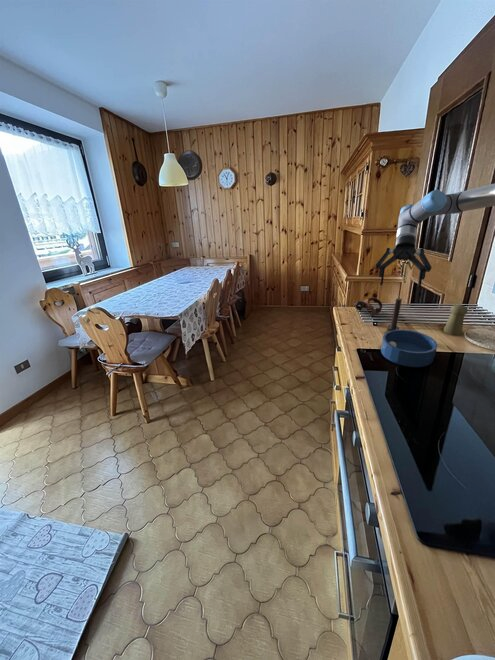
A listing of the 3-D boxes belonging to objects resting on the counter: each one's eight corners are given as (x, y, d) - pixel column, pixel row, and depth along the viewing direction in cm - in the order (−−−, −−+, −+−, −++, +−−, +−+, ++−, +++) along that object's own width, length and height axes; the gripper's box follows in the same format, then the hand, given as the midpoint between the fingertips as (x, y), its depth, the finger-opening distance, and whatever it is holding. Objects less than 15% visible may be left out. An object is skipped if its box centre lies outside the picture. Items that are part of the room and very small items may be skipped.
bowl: (442, 355, 98) (446, 341, 96) (418, 373, 90) (422, 358, 88) (396, 338, 111) (399, 325, 108) (371, 352, 102) (373, 339, 100)
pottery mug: (372, 308, 138) (381, 297, 132) (376, 323, 133) (386, 312, 126) (349, 304, 137) (357, 292, 130) (352, 319, 131) (361, 308, 125)
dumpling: (388, 340, 104) (389, 348, 104) (385, 342, 102) (386, 350, 102) (397, 340, 101) (398, 348, 102) (394, 342, 99) (395, 350, 100)
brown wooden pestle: (400, 333, 113) (407, 298, 107) (394, 337, 111) (402, 302, 104) (389, 330, 117) (395, 296, 110) (384, 333, 114) (390, 299, 107)
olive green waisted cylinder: (461, 336, 109) (469, 310, 104) (442, 332, 112) (449, 307, 107) (462, 330, 113) (470, 304, 108) (444, 327, 116) (451, 302, 111)
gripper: (438, 245, 117) (433, 291, 112) (373, 244, 127) (366, 286, 122) (443, 234, 111) (438, 282, 106) (374, 234, 121) (367, 278, 115)
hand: (400, 284), depth 114 cm, fingers open, 13 cm apart
